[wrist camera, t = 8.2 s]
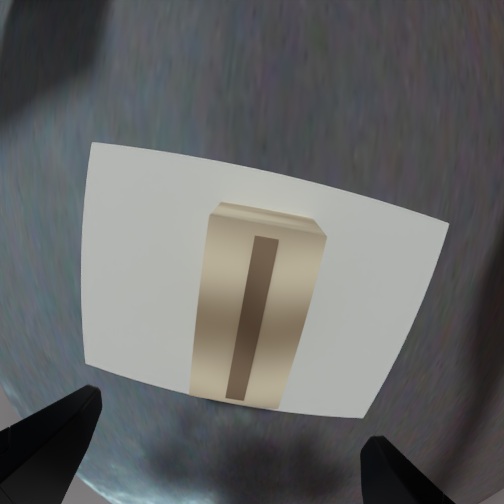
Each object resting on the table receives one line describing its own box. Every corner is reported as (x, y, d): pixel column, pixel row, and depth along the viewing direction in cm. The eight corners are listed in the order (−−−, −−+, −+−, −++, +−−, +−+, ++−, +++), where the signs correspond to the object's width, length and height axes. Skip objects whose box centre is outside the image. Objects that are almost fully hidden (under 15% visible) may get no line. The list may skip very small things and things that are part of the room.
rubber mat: (446, 222, 17) (449, 223, 17) (361, 414, 22) (362, 418, 21) (95, 142, 16) (91, 142, 16) (87, 360, 21) (85, 363, 21)
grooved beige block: (275, 367, 20) (278, 411, 16) (200, 354, 20) (188, 397, 16) (312, 218, 17) (328, 237, 13) (221, 201, 17) (208, 216, 13)
